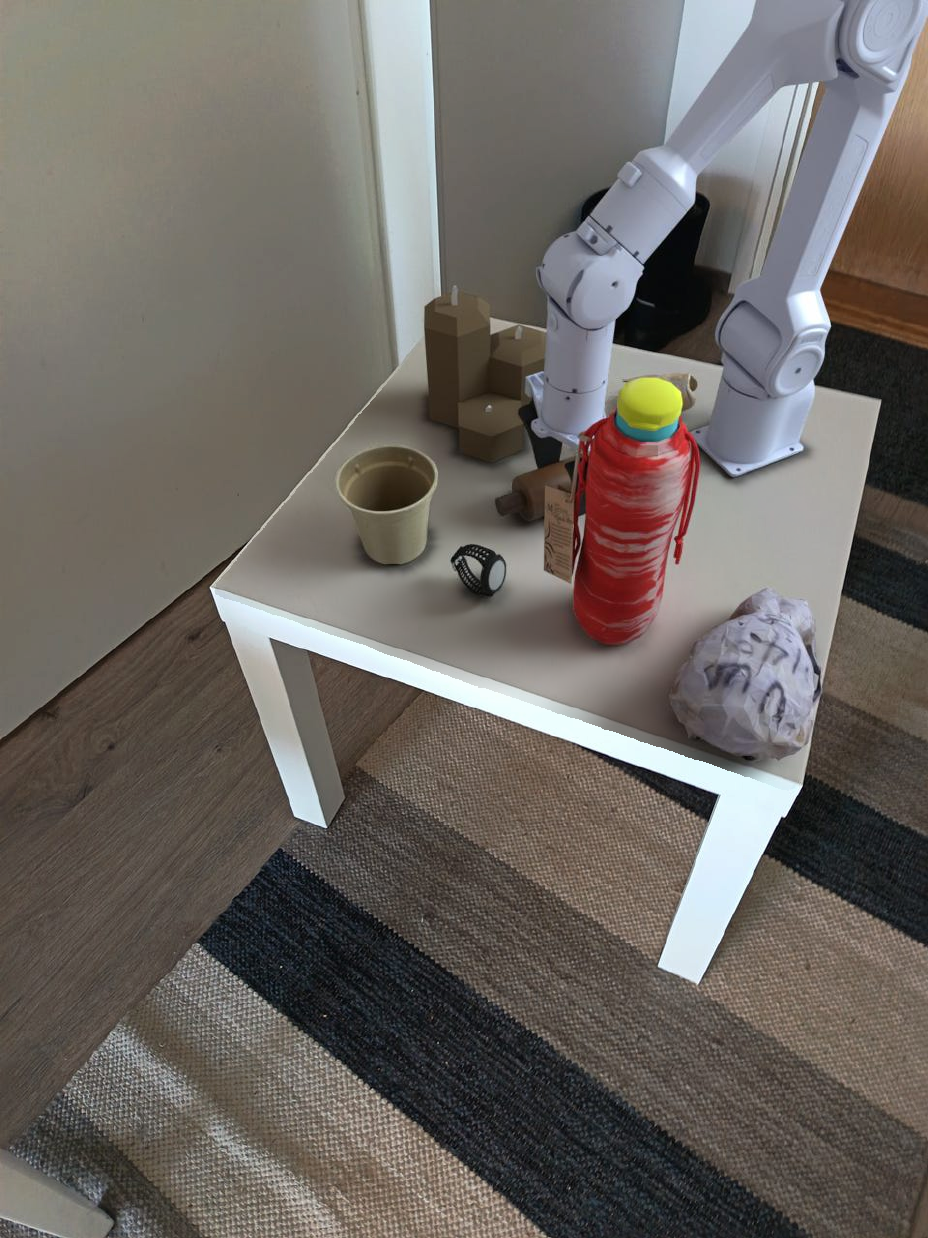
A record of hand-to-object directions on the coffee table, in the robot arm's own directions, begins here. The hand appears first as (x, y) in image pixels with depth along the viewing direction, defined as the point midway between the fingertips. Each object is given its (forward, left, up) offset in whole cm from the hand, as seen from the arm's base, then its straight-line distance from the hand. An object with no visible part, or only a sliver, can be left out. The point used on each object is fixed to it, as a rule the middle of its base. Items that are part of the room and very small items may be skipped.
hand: (565, 488), depth 87 cm
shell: (-17, -9, -2) cm, 19 cm away
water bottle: (+6, +15, -2) cm, 16 cm away
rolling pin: (0, 0, +1) cm, 1 cm away
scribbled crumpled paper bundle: (-1, +28, -2) cm, 29 cm away
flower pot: (+18, -3, -2) cm, 18 cm away
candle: (+1, -17, -2) cm, 17 cm away
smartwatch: (+13, +6, -2) cm, 15 cm away
